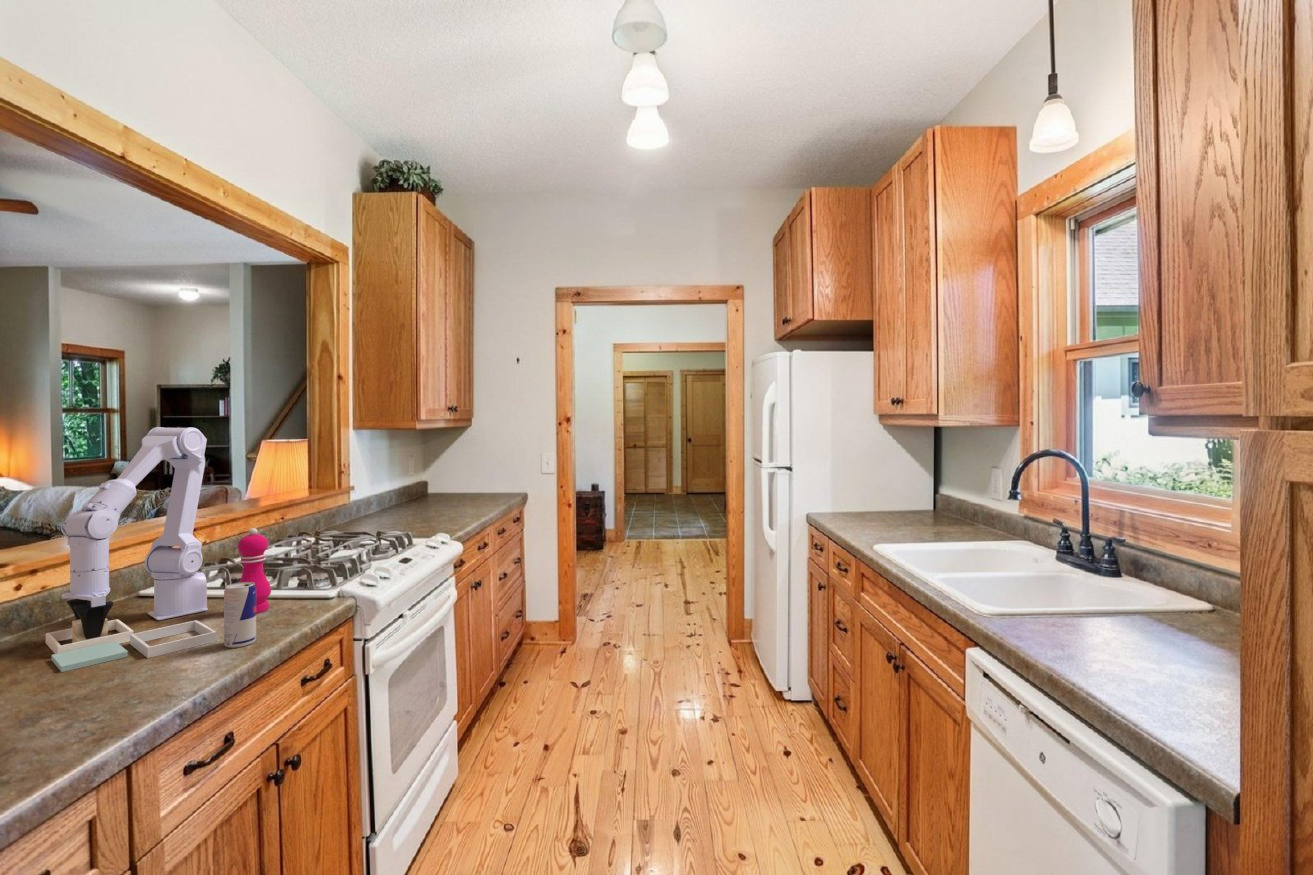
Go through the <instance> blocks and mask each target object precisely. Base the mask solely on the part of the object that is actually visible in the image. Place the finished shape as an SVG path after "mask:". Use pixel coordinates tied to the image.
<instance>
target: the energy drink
mask: <svg viewBox="0 0 1313 875" xmlns="http://www.w3.org/2000/svg"><path fill="white" fill-rule="evenodd" d="M256 640H257V613H256V586H255V583H253V582H241V583H239V582H235V583H230V584H228V585H225V588H224V591H223V645H224V646H225V648H230V649H235V648H242V647H246V646H250V645H252V644H254V643H255V641H256Z"/></svg>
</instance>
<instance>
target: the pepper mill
mask: <svg viewBox="0 0 1313 875" xmlns="http://www.w3.org/2000/svg"><path fill="white" fill-rule="evenodd" d="M268 541H269V540H268V539H267V538H266V536H265V535H261V534H259V532H258V529H257V528H255V527H254V528H253V527H252V528H250V529H249V530H248V535H245V536H243V537H242V538H240V540H239V541H238V544H237V551H239V553H240V554H241V555H240V561H239V562H240V563H242V575H241V577H240V580H239V581H238V583H241V582H253V583H255V586H256V614H259V613H260V614H261V613H263V612H266V611H268V610H269V606H270V605H269V604H270V602H269V600H267V599H268V598H270V595H271V594H272V590H271V589H272V588H271V584H270V582H269V580H268V578H267V576H266V575H265V570H264V561H265V560H266V559H267V558H266V553H265V552H266V551H267V549H268V547H269V542H268Z"/></svg>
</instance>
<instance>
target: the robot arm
mask: <svg viewBox="0 0 1313 875" xmlns="http://www.w3.org/2000/svg"><path fill="white" fill-rule="evenodd" d="M207 440H208V438H206V436H205V435H204V434H203V432H201V431H200V429H198V428H196V427H192V426H191V427H161V426H156V427H152V428H151V429H150V430H149V431H148V432H147V434H146V435H145V436H144V437H143V438H142V439H141V447H140V448H139V449H138V451H137V453H136V454H135V455H134V456H133V458H132V459H131V460H130V461H129V463H128V464H127V465H126V467H125V468H124V469H123V470H122V472H121V474H120V475H119V476H118V477H117V478H115V479H109V480H107V481H105V482H102V483H101V484H100V485H99V486H98V490H97V491H96V493H94V494H93V496H92V497H91V498H90V499H89V500H88V501H86V503H84V504H83V505H82V508H81V509H80V510H76V511H74V512H72V513H70V514H69V515H68V516H67V517H66V518H65V520H64V522H63V525H60V530H61V533H62V535H64V536H65V538H66V539H67V540H66V541H67V545H68V547H69V577H70V578H69V591H70V592H65V593H62V594H61V598H62V599H69V600H67V601H66V603H67V605H68V606H69V608H70V609H71V611H72V613H73V616H74V619H75V620H79V619H81V623H82V627H83V632H84V636H85V638H86V639H91V638H96V637H100V636H101V633H102V630H103V626H104V622H105V619H107V616H108V613H109V612H110V610H111V609H112V607H113V606H114V601H112V600H109V601H106V596H108V594H109V593H111V587H110V536H112V535H113V533H115V532H116V531H117V529H118V527H119V526H118V524H119V519H120V518H121V514H122V512H124V510H125V509H126V508H127V507H128V506H129V504H130V503H131V502H132V501H133V499H134V498H135V497H136V496H137V489H136V486H138V485H139V483H140V482H142V481H143V479H144V478H145V477H146V476H147V475H148V474H150V472H151V471H152V470H154V468H155V467H157V465H158V464H160V462H161V461H166V462H168V463H169V464H170V465H171V466H172V467H173V468H174V473H173V479H172V485H171V490H170V496H169V502H168V505H167V510H166V517H165V522H164V527H163V533H162V534H161V535H160V536H159V537H157V538H156V539H155V540H154V541H153V542H152V543H151V547H150V549H149V552H148V553H147V554H146V556H145V559H144V568H145V570H146V571H147V572H148V573H150V576H151V578H154V579H153V597H154V598H153V610H151V611H148V612H147V615H149V616H150V617H152V618H154V619H155V620H157V621H162V620H167V619H171V618H177V617H181V616H187V615H192V614H197V613H201V612H206V611H208V610H209V608H208V582H207V578H206V574H205V573H204V572H201V571H199V570H200V568H201V566H202V565H203V554H202V547H203V543H202V542H201V541H199V539H197V538H196V537H195V536H194V534H193V533H194V530H195V529H194V528H195V524H196V523H195V522H196V518H197V512H198V506H199V500H200V496H201V495H200V494H201V491H202V490H201V489H202V485H203V484H202V483H203V477H204V473H205V467H206V460H205V459H206V457H205V452H206V448H207ZM198 571H199V572H198Z"/></svg>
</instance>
